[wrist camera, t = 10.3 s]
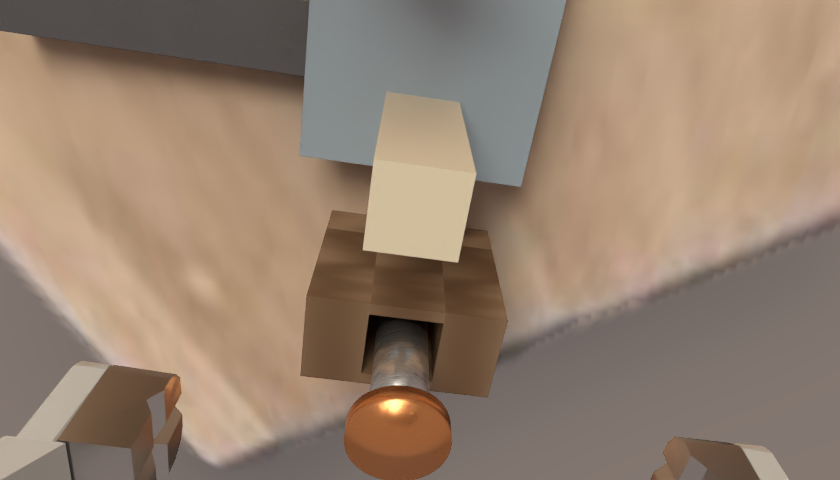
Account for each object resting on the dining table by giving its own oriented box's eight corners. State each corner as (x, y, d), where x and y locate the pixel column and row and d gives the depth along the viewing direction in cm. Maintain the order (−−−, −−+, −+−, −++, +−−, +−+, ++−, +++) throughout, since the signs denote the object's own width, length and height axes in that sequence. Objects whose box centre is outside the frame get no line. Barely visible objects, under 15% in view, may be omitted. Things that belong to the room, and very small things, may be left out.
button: (450, 295, 26) (460, 408, 20) (436, 362, 27) (441, 486, 21) (365, 284, 26) (349, 396, 19) (356, 352, 27) (339, 475, 21)
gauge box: (487, 231, 31) (507, 320, 24) (472, 296, 33) (487, 397, 26) (332, 210, 31) (306, 295, 24) (326, 277, 33) (300, 375, 26)
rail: (532, 30, 27) (540, 38, 25) (517, 97, 28) (524, 109, 26) (15, -52, 25) (-15, -51, 24) (25, 23, 27) (-3, 30, 25)
